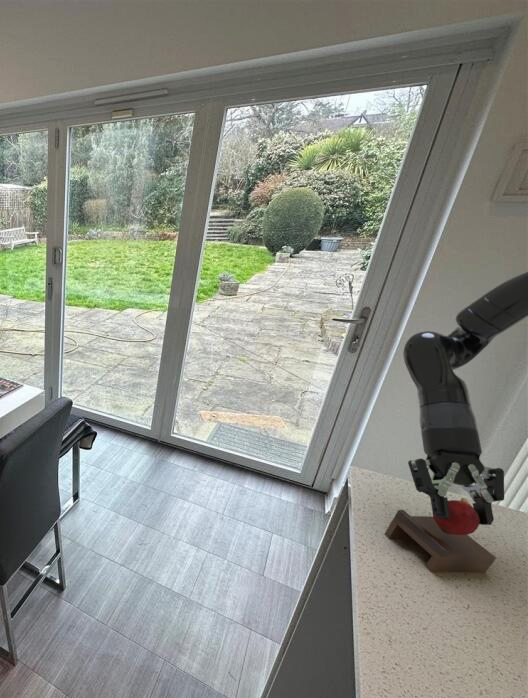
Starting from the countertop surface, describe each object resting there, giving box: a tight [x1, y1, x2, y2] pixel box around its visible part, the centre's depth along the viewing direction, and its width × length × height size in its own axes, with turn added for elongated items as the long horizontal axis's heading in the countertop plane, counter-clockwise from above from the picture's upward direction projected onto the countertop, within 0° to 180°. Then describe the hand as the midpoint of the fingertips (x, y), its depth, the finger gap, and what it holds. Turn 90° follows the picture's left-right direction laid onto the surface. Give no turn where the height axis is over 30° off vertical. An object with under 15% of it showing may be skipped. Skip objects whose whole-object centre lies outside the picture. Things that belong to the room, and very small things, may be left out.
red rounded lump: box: [432, 497, 481, 536], centre depth 75 cm, size 6×6×8 cm
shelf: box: [384, 509, 497, 574], centre depth 78 cm, size 10×10×7 cm
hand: (463, 521), depth 73 cm, fingers closed on red rounded lump, 5 cm apart
